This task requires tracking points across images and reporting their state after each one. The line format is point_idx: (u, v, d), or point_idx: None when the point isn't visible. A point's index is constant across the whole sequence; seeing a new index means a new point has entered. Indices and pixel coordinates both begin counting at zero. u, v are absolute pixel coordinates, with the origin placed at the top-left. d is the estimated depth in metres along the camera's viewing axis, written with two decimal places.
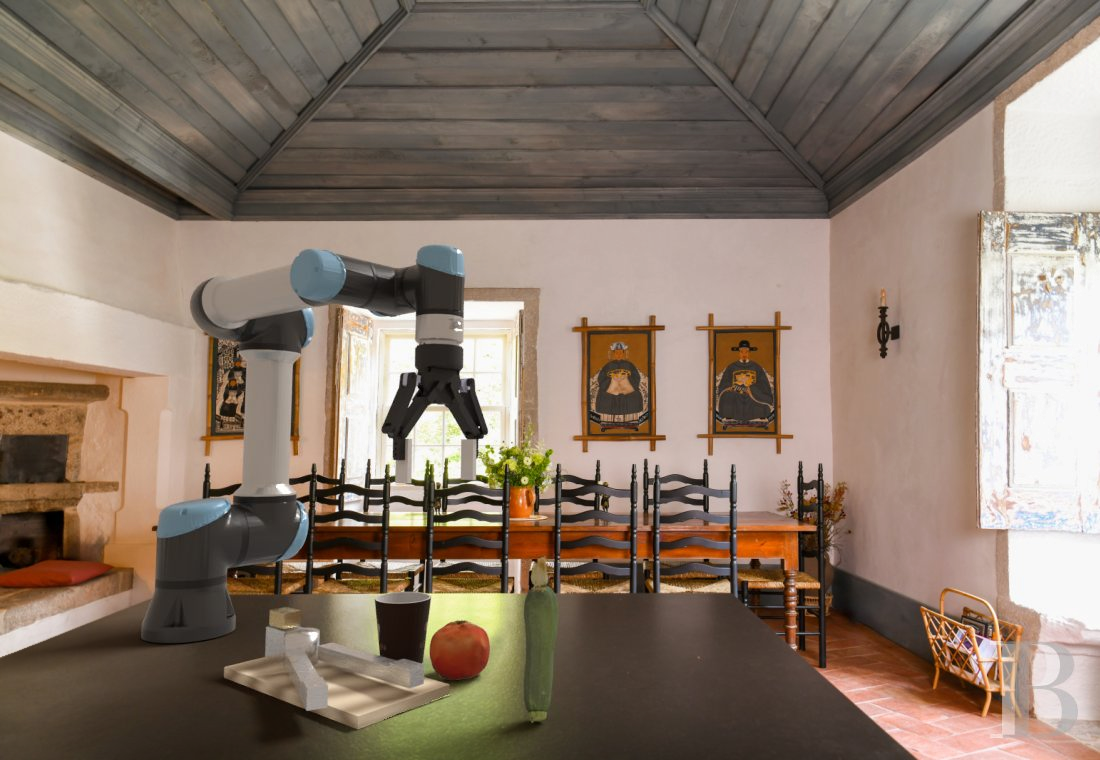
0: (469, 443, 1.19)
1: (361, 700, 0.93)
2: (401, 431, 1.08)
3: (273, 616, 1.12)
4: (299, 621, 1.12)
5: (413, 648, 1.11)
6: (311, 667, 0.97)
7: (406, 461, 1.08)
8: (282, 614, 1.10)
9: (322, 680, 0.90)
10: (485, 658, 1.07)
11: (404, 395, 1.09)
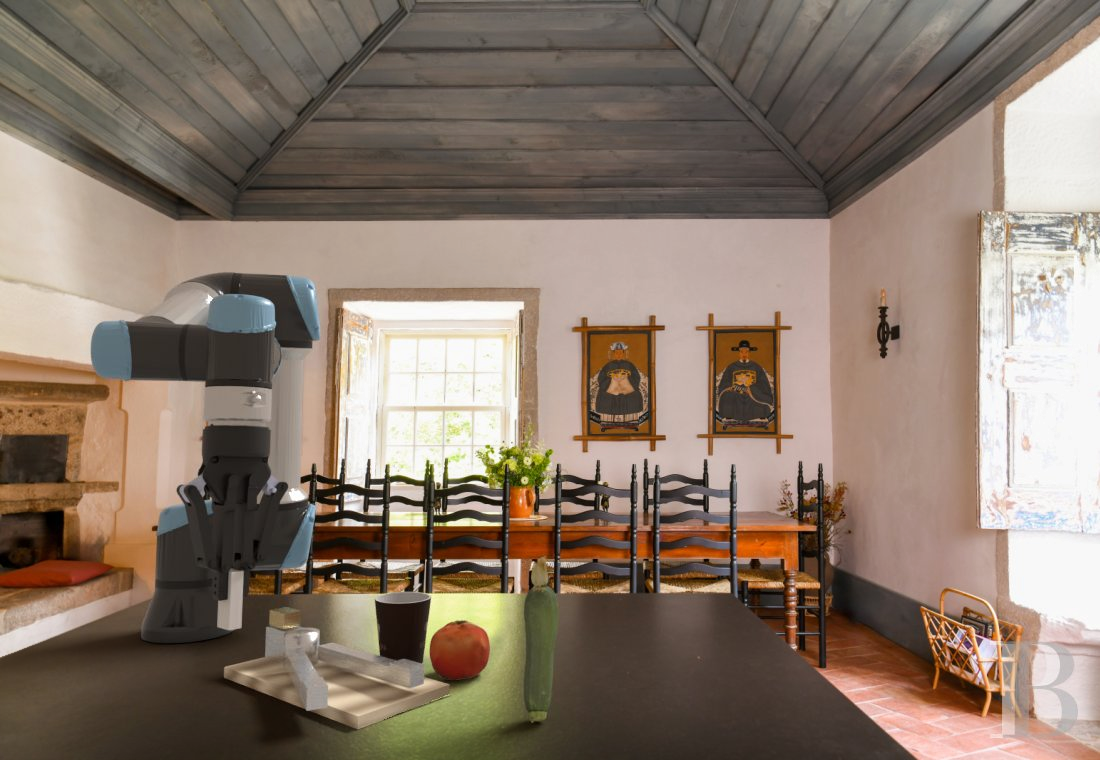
0: None
1: (361, 700, 0.93)
2: (220, 567, 0.85)
3: (273, 616, 1.12)
4: (299, 621, 1.12)
5: (413, 648, 1.11)
6: (311, 667, 0.97)
7: (229, 601, 0.85)
8: (282, 614, 1.10)
9: (322, 680, 0.90)
10: (485, 658, 1.07)
11: (196, 519, 0.83)
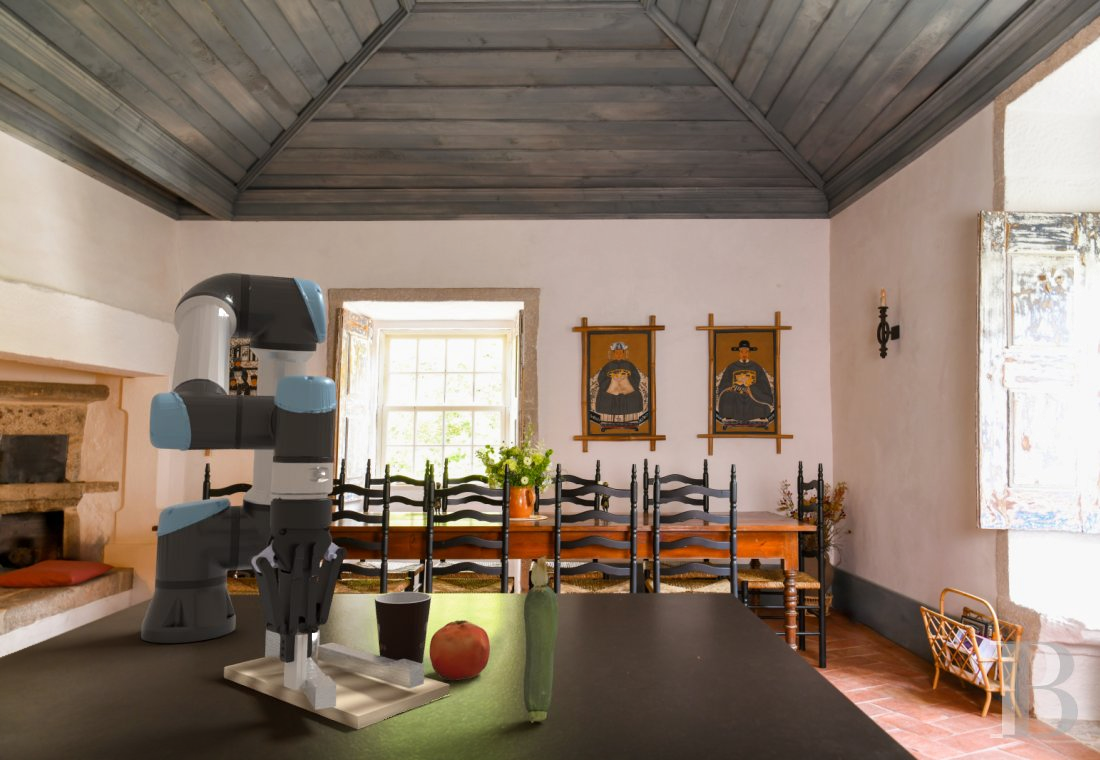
0: None
1: (361, 700, 0.93)
2: (288, 631, 0.91)
3: None
4: None
5: (413, 648, 1.11)
6: (315, 666, 0.97)
7: (295, 663, 0.92)
8: None
9: (329, 679, 0.91)
10: (485, 658, 1.07)
11: (266, 589, 0.89)
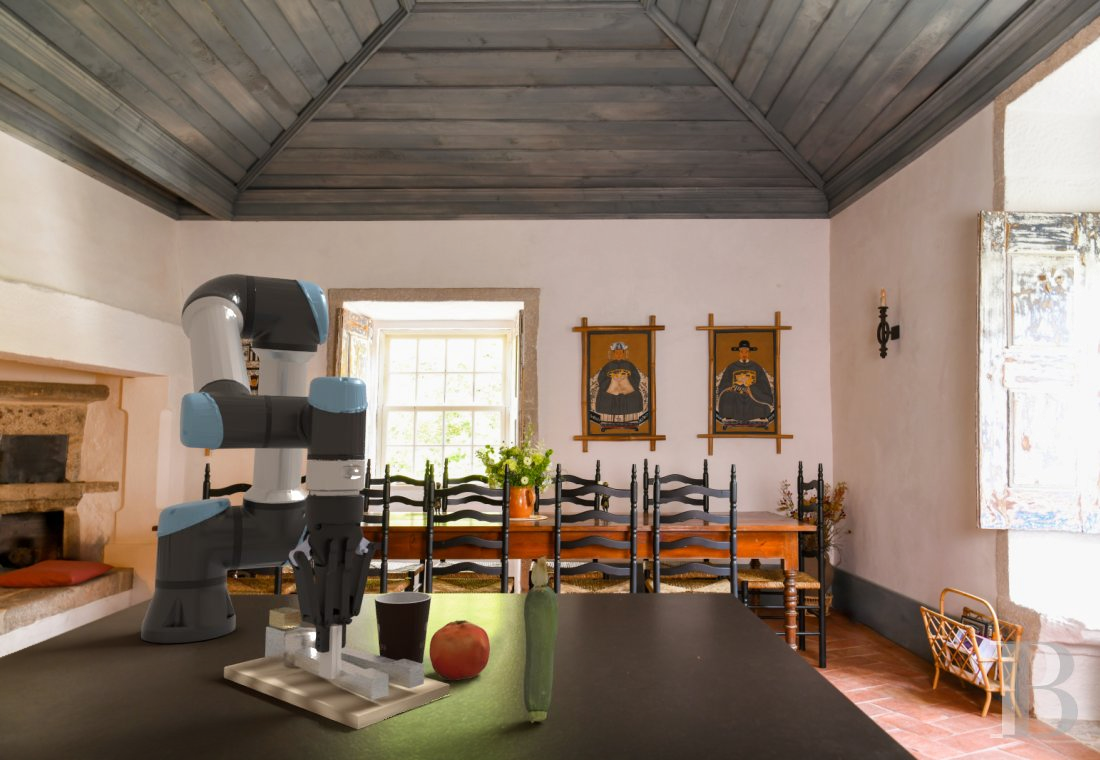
0: None
1: (361, 700, 0.93)
2: (323, 623, 0.95)
3: (273, 616, 1.12)
4: (299, 621, 1.12)
5: (413, 648, 1.11)
6: (344, 662, 0.99)
7: (330, 653, 0.95)
8: (282, 614, 1.10)
9: (376, 670, 0.94)
10: (485, 658, 1.07)
11: (303, 581, 0.93)
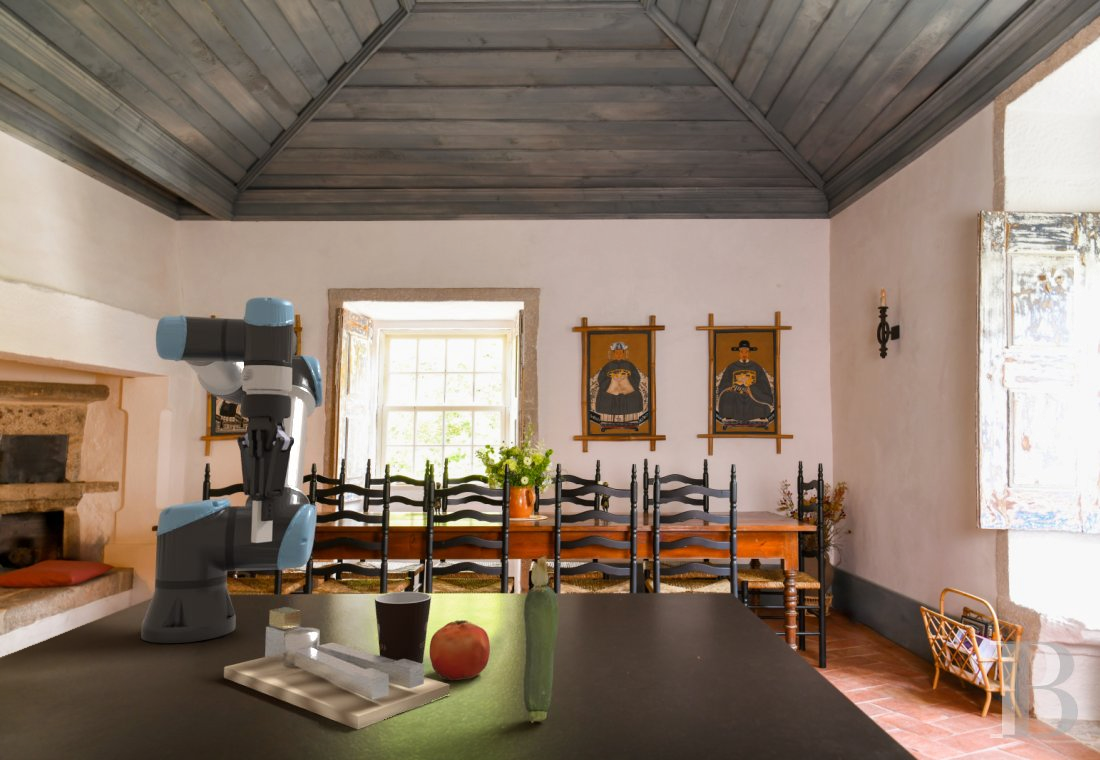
0: None
1: (361, 700, 0.93)
2: None
3: (273, 616, 1.12)
4: (299, 621, 1.12)
5: (413, 648, 1.11)
6: (344, 662, 0.99)
7: None
8: (282, 614, 1.10)
9: (376, 670, 0.94)
10: (485, 658, 1.07)
11: None
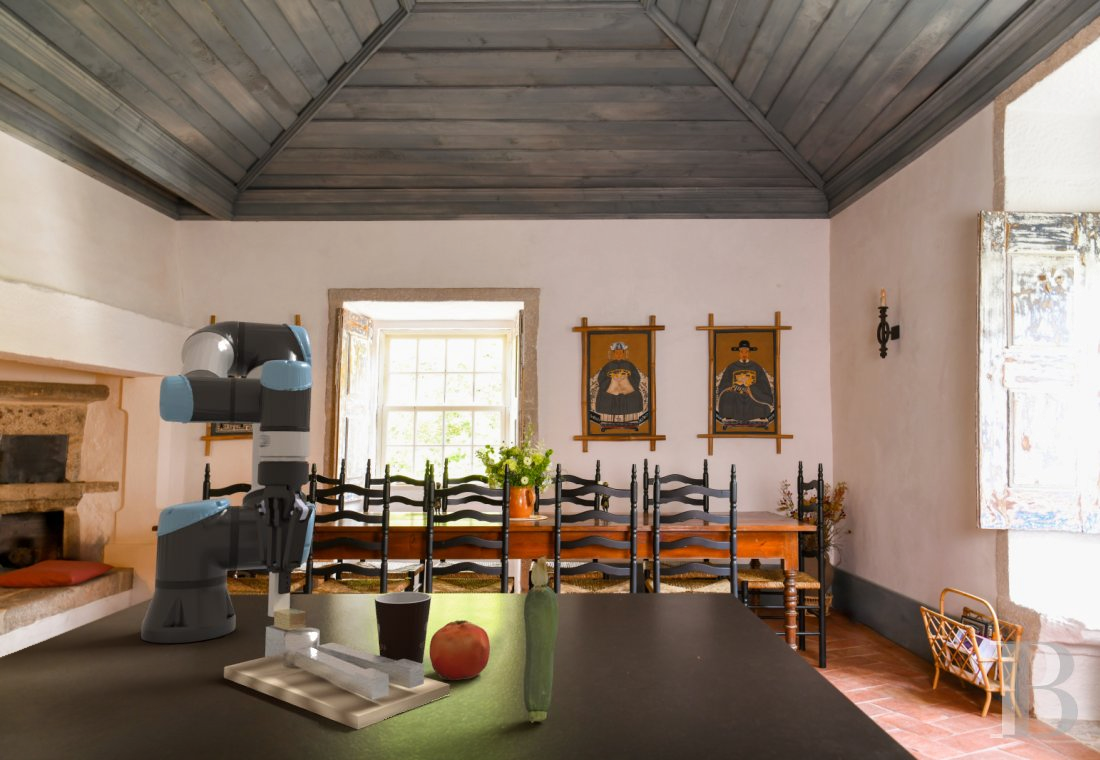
0: None
1: (361, 700, 0.93)
2: None
3: (278, 617, 1.11)
4: (304, 622, 1.11)
5: (413, 648, 1.11)
6: (344, 662, 0.99)
7: None
8: (287, 615, 1.09)
9: (376, 670, 0.94)
10: (485, 658, 1.07)
11: None
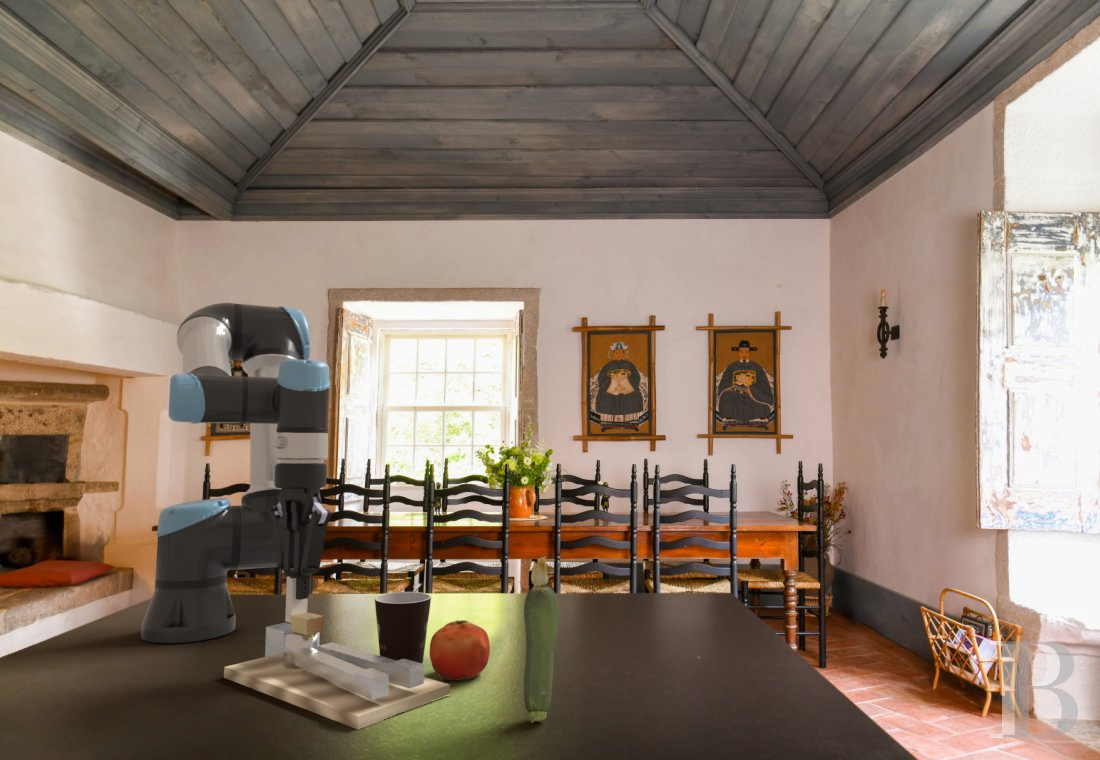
0: None
1: (361, 700, 0.93)
2: None
3: (295, 622, 1.08)
4: (321, 627, 1.08)
5: (413, 648, 1.11)
6: (344, 662, 0.99)
7: None
8: (304, 620, 1.07)
9: (376, 670, 0.94)
10: (485, 658, 1.07)
11: None
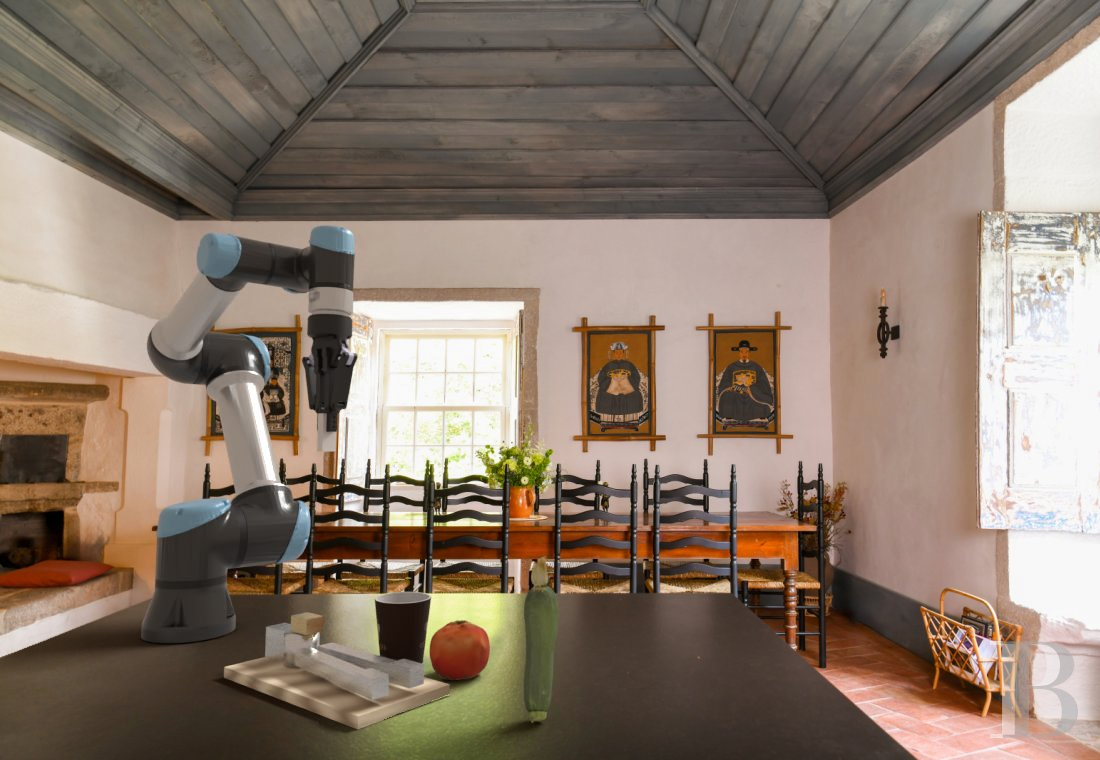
0: None
1: (361, 700, 0.93)
2: None
3: (295, 622, 1.08)
4: (321, 627, 1.08)
5: (413, 648, 1.11)
6: (344, 662, 0.99)
7: None
8: (304, 620, 1.07)
9: (376, 670, 0.94)
10: (485, 658, 1.07)
11: None
